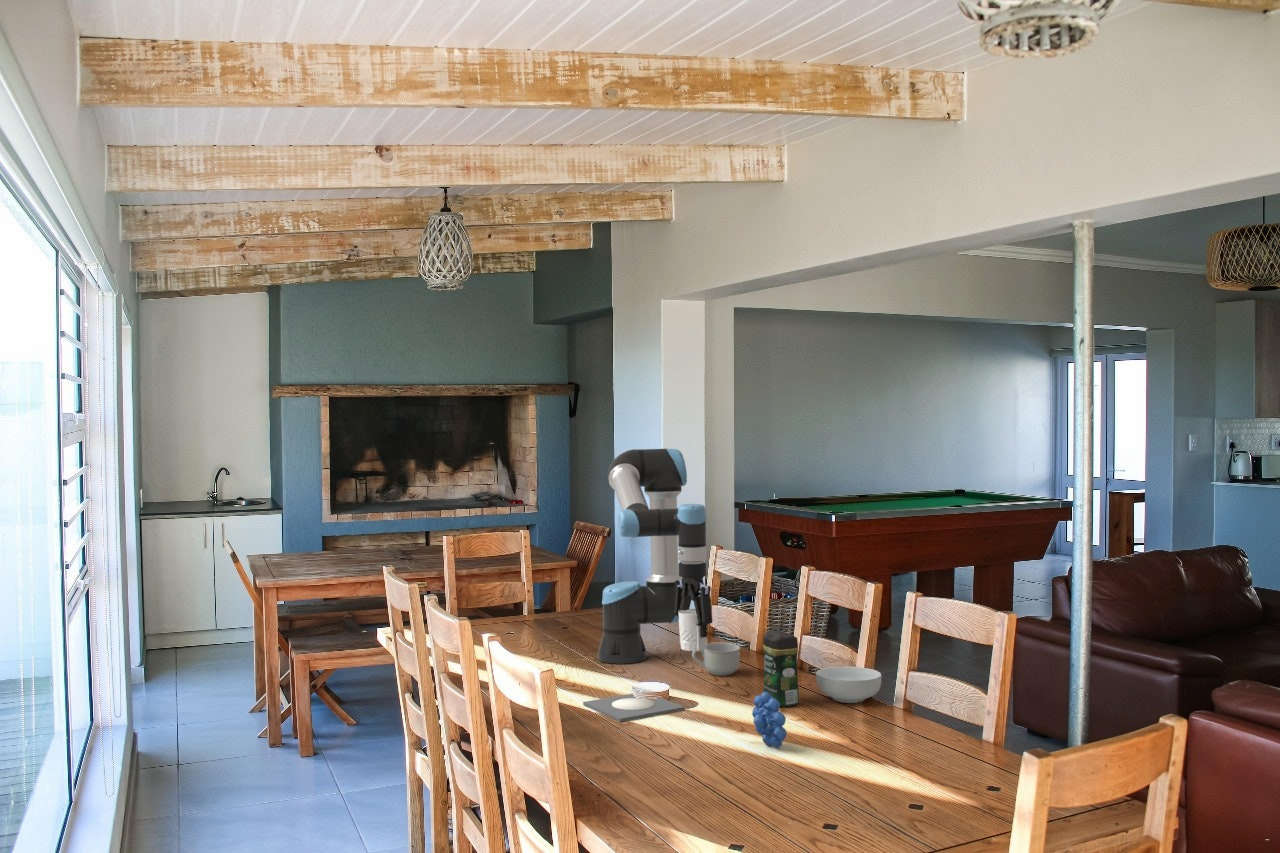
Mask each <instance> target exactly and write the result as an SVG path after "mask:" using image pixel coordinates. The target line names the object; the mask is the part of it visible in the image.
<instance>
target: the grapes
mask: <svg viewBox="0 0 1280 853" xmlns="http://www.w3.org/2000/svg"><path fill="white" fill-rule="evenodd" d="M753 704H754V707H753V709H752V713H751V715H752V717H753V724H754V727H755V731H756V732H757V734H759V735H761V736H762V742H763V743H764V744H765V745H766V746H768V747H773V748H775V749H779V748H781V747H782V744H783V741H784V740H786V737H787V730H786V728H785V727H783V726H784V725H785V723H786V719H787V718H786V716H785V714H784V713H783V712H781V711H779V710H780V708H781V706H780V703H779V702H778V701H777V700H776V699H775V698H772V697H771V695H770V694H769V693H768V692H764V691H763V692H762V693H761V694H758V695H756V696H755V697H754V700H753Z"/></svg>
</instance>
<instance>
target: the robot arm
mask: <svg viewBox="0 0 1280 853" xmlns="http://www.w3.org/2000/svg"><path fill="white" fill-rule="evenodd" d="M686 465H687V464H686V462H685V458H684V456H683V453H682V452H681V451H680V450H679V449H677V448H668V447H667V448H666V447H665V448H650V449H649V448H648V449H645V448H641V449H639V448H635V449H630V450H629V449H628V450H626V451H624V452H622V453H620V454H618V456H616V457H615V458H614V459H613V461H612V462H611V463H610V465H609V467H608V471H607V481H608V483H609V486H610V487H611V489H613V490H614V491H615V495H616V498H617V500H618V504H619V507H620V509H621V510H620V511H619V513H618V515H617V516H618V517H617V518H618V521H617V524H618V526H617V527H618V534H619V535H620V536H621V537H624V538H640V537H642V538H643V537H649V539H650V541H649V542H650V544H649V546H650V549H649V550H650V574H649V576H648V577H647V578H646V581H645V583H646V585H641V583H640V582H639V581H635V580H632V581H630V580H629V581H628V580H627V581H622V582H616V583H612V584H610V585H606V586H605V587H604V588H603V590H602V601H601V605H602V636H601V639H600V640H601V641H600V643H599V646H598V650H597V660H598V661H599V662H602V663H608V664H613V665H614V664H617V665H618V664H620V665H623V664H625V665H626V664H635V663H640V662H644V661H645V660H647V659H648V658H647V648H646V646H645V643H644V639H643V637H642V633H641V625H649V624H652V625H653V624H673V623H679V615H678V612H679V611H680V610H684V611H686V610H688V609H691V604H692V602H693V605H694V609H695V610H696V614H697V619H698V624H696V625H697V649H698V650H700V649H707V644H708V625H710V624H713V614H712V613H713V612H712V601H711V592H712V591H711V589H712V588H711V586H710V585H705V583H704V577H706V576H707V562H705V561H706V560H707V529H706V528H707V525H706V523H707V514H706V507H705V505H704V504H700V503H685V504H683V503H682V504H680V505H678V497H679V495H680V494H681V493H682V487H684V486H686V485H687V482H688V479H687V478H688V475H687V466H686ZM642 487H643V488H644V493H645V495H646V496H647V497H648V498H649V505H648V503H647V500H646V497H645V495H644V493H643V490H642ZM679 561H680V562H679ZM680 640H681V639H680V638H679V644H680V645H681V641H680Z"/></svg>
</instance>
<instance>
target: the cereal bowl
mask: <svg viewBox="0 0 1280 853" xmlns="http://www.w3.org/2000/svg"><path fill="white" fill-rule="evenodd" d="M815 675H816V676H815V679H816V684H817V687H818V688H819V690H820V692H822V693H823V694H824V695H826V696H828V697H830V698H832V699H833V700H834V701H836V702H839V703H844V704H858V702H859V703H862V702H864V701H865V699H869V698H872V697H873V696H875V695H876V694H877V693H878V692H879V691H880V690H881V686H882V673H881V672H879V671H878V670H876V669H872V668H868V667H867V668H866V667H861V666H860V667H859V666H832V667H831V666H830V667H825V668H821V669H819V670H817V671H816V672H815Z"/></svg>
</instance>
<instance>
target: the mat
mask: <svg viewBox="0 0 1280 853" xmlns="http://www.w3.org/2000/svg"><path fill="white" fill-rule="evenodd" d="M582 706H584V707H586V708H589V709H591V710H593V711H595V712H598V713H600V714H601V715H604V716H606V717H608V718H610V719H612V720H615V721H617V722H618V723H621V722H628V721H629V722H630V721H633V720H638V719H639V720H640V719H643V718H649V717H655V716H660V715H665V714H671V713H676V712H682V711H685V706H683V705H681V704H678V703H675V702H673V701H670V700H667V699H666V698H663V697H661V698H657V699H642V698H636V697H634V695H633V693H628V694H621V695H616V696H612V697H605V698H598V699H593V700H587V701H583V702H582Z"/></svg>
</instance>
